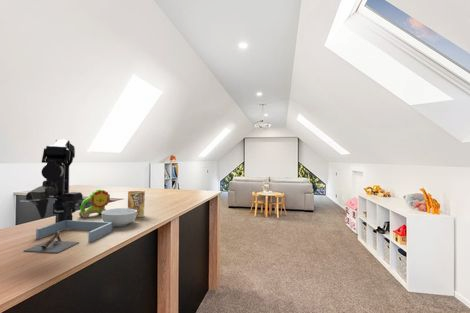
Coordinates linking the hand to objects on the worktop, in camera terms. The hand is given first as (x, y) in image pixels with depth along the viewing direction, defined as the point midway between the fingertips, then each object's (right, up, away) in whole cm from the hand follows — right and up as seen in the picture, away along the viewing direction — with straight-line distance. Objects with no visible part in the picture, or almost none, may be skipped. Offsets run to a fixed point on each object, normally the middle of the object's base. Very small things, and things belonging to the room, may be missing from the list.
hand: (53, 218), depth 94 cm
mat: (0, -11, 0) cm, 11 cm away
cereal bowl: (+9, -12, +34) cm, 37 cm away
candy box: (+10, -12, +52) cm, 54 cm away
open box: (-1, -11, +15) cm, 19 cm away
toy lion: (-14, -12, +51) cm, 54 cm away
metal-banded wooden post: (-1, -11, -1) cm, 11 cm away
